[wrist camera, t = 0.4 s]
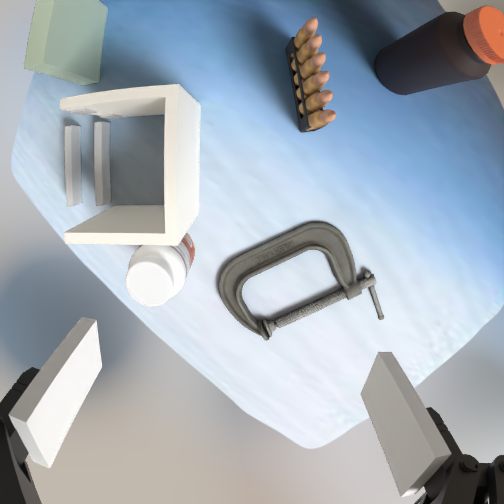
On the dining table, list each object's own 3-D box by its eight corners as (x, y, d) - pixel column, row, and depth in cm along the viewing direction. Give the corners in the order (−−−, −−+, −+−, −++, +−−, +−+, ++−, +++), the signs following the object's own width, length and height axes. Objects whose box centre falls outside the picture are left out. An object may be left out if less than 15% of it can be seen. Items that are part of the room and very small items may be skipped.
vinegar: (410, 105, 34) (520, 90, 15) (366, 78, 33) (462, 34, 14) (425, 65, 32) (529, 33, 13) (383, 37, 31) (474, -20, 12)
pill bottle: (147, 268, 40) (118, 308, 30) (149, 221, 38) (117, 249, 28) (193, 275, 41) (177, 318, 30) (198, 228, 39) (181, 258, 28)
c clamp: (356, 204, 39) (364, 208, 36) (382, 315, 44) (389, 325, 41) (205, 258, 41) (203, 266, 38) (253, 361, 46) (253, 373, 43)
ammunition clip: (285, 48, 32) (302, 9, 21) (300, 47, 32) (323, 9, 21) (300, 132, 36) (325, 125, 24) (315, 130, 36) (346, 124, 24)
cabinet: (74, 115, 34) (13, 109, 21) (200, 105, 34) (178, 84, 22) (77, 213, 38) (20, 242, 25) (199, 213, 38) (177, 245, 26)
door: (85, 13, 29) (36, -21, 17) (108, 8, 29) (62, -31, 17) (76, 86, 33) (16, 70, 20) (99, 82, 33) (43, 62, 20)
